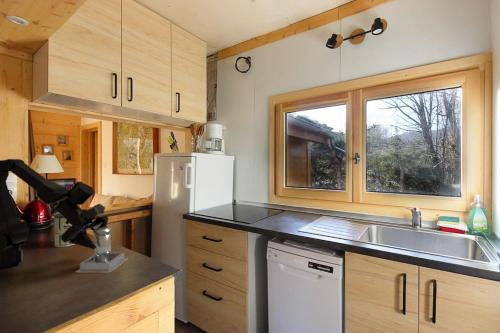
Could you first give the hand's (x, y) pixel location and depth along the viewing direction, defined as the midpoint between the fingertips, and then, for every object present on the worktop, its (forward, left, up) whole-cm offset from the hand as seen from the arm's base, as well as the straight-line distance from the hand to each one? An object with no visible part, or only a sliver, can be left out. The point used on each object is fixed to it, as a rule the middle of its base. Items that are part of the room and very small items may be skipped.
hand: (103, 243), depth 90 cm
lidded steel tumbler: (0, 0, -8) cm, 8 cm away
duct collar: (0, 0, -8) cm, 8 cm away
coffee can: (-12, +38, -8) cm, 41 cm away
